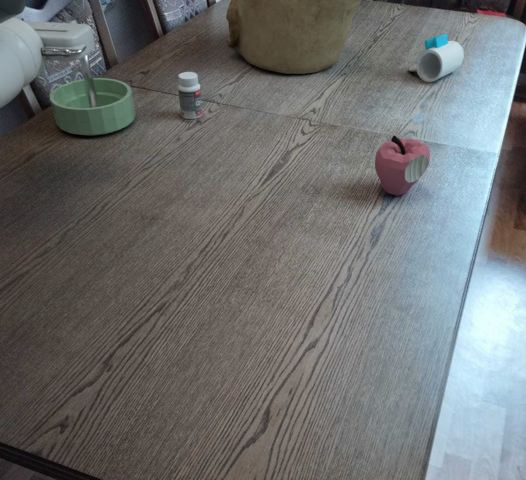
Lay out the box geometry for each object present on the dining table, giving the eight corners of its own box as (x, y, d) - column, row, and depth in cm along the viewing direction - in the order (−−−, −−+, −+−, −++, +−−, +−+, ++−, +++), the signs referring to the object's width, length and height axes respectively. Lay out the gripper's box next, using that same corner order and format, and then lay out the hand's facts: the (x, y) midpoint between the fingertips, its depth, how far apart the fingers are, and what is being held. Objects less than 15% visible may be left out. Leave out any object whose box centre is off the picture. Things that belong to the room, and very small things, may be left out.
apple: (387, 208, 95) (397, 153, 88) (360, 185, 101) (368, 131, 93) (432, 196, 98) (445, 142, 91) (403, 174, 103) (414, 121, 96)
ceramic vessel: (265, 26, 165) (265, -78, 147) (385, 59, 146) (403, -56, 128) (195, 51, 150) (187, -62, 132) (320, 92, 131) (329, -34, 112)
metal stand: (78, 118, 118) (57, 34, 106) (98, 110, 121) (80, 27, 109) (95, 125, 116) (76, 40, 104) (115, 116, 119) (99, 32, 107)
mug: (466, 26, 133) (439, 37, 127) (470, 66, 138) (444, 79, 132) (423, 37, 142) (397, 48, 136) (428, 75, 146) (403, 87, 140)
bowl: (41, 124, 118) (33, 95, 114) (101, 99, 127) (95, 72, 123) (92, 146, 111) (85, 116, 107) (151, 118, 120) (147, 90, 116)
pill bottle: (201, 119, 120) (198, 79, 114) (179, 119, 120) (175, 79, 114) (203, 110, 123) (200, 71, 117) (182, 110, 123) (178, 71, 117)
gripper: (74, 32, 82) (102, 5, 92) (-57, 25, 84) (-16, 0, 93) (83, 76, 87) (109, 46, 96) (-41, 69, 88) (-4, 41, 98)
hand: (47, 24), depth 95 cm, fingers open, 8 cm apart
